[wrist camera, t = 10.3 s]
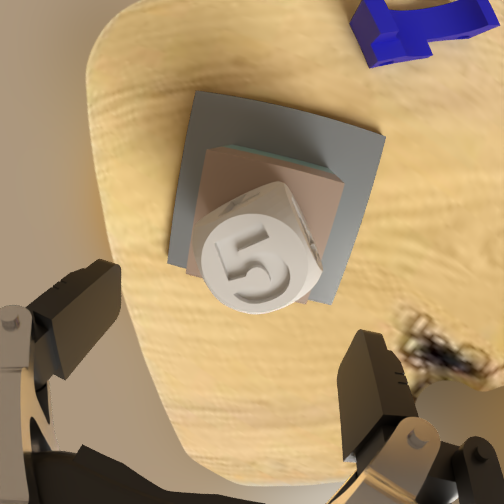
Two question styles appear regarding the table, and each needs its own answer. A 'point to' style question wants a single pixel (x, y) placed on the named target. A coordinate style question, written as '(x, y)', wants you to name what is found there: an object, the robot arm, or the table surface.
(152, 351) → the table surface
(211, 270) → the die
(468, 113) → the table surface
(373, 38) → the blue saddle bracket
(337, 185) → the brick tower
